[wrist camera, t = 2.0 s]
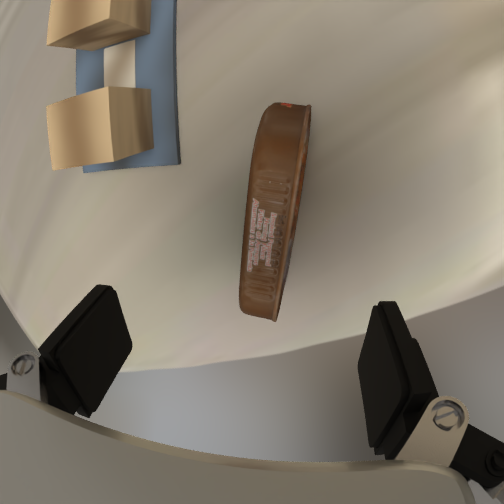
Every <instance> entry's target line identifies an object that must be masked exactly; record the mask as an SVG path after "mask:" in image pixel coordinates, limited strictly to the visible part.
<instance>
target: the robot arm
mask: <svg viewBox="0 0 504 504" xmlns="http://www.w3.org/2000/svg"><path fill="white" fill-rule="evenodd" d="M38 350H39V352H40V354H41V356H40V357H38V356H37V355H36V354H35V353H33V352H23V353H20V354H18V355H17V356H16V357H14V358H13V359H12V361H11V362H10V364H9V367H8V373H6V374H3V375H0V504H504V443H503V442H501V441H499V440H497V439H495V438H493V437H491V436H490V435H488V434H486V433H484V432H483V431H481V430H479V429H477V428H475V427H474V426H472V425H470V424H468V421H469V414H468V410H467V408H466V406H465V405H464V404H463V403H462V402H461V401H459V400H458V399H456V398H453V397H451V396H441V397H439V395H438V392H437V390H436V387H435V384H434V381H433V379H432V376H431V373H430V371H429V368H428V366H427V363H426V361H425V358H424V356H423V353H422V351H421V348H420V346H419V343H418V342H417V340H416V339H415V338H412V337H411V335H410V332H409V330H408V328H407V325H406V323H405V321H404V318H403V316H402V314H401V312H400V309H399V307H398V305H397V303H396V302H395V301H380V302H379V303H378V306H373V309H372V313H371V317H370V321H369V325H368V328H367V332H366V336H365V340H364V343H363V347H362V350H361V354H360V358H359V361H358V373H359V379H360V386H361V391H362V398H363V404H364V411H365V418H366V425H367V433H368V441H369V446H370V447H374V452H375V455H382V454H385V460H377V461H376V460H375V461H351V462H288V461H270V460H258V459H247V458H238V457H231V456H224V455H217V454H210V453H204V452H199V451H194V450H188V449H183V448H179V447H174V446H169V445H165V444H161V443H157V442H153V441H149V440H146V439H142V438H138V437H135V436H132V435H128V434H125V433H122V432H119V431H116V430H112V429H109V428H106V427H103V426H101V425H98V424H95V423H92V422H90V421H87V420H84V419H82V418H79V417H77V416H74V414H75V412H76V411H77V413H78V414H80V415H82V416H85V417H87V418H90V416H91V414H92V412H95V411H96V410H97V408H98V407H99V405H100V403H101V401H102V400H103V398H104V396H105V394H106V393H107V390H108V389H109V387H110V386H111V384H112V382H113V381H114V379H115V377H116V375H117V374H118V372H119V370H120V369H121V367H122V365H123V364H124V362H125V360H126V359H127V357H128V355H129V354H130V352H131V350H132V341H131V338H130V335H129V332H128V329H127V325H126V322H125V319H124V316H123V313H122V309H121V306H120V303H119V299H118V296H117V293H116V291H115V290H113V288H112V286H108V285H96V286H95V287H94V288H93V289H92V290H91V291H90V292H89V293H88V294H87V295H86V296H85V297H84V299H83V300H82V301H81V302H80V303H79V304H78V305H77V306H76V307H75V308H74V309H73V310H72V311H71V312H70V313H69V315H68V316H67V317H66V318H65V319H64V320H63V321H62V322H61V323H60V324H59V326H58V327H57V328H56V329H55V330H54V331H53V332H52V333H51V335H50V336H49V337H48V338H47V339H46V340H45V341H44V343H43V344H42V345H41V346H40V347H39V348H38Z"/></svg>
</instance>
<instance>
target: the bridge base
mask: <svg viewBox="0 0 504 504" xmlns="http://www.w3.org/2000/svg"><path fill="white" fill-rule="evenodd" d="M47 46H56V47H65V48H73V49H76V95H77V96H74V97H71V98H68V99H65V100H62V101H59V102H56V103H54V104H51V105H48V106H46V109H47V125H48V136H49V146H50V154H51V162H52V169H53V170H59V169H65V168H71V167H78V166H83V173H88V172H96V171H105V170H115V169H125V168H136V167H149V166H164V165H178V164H180V163H181V160H180V146H179V130H178V111H177V84H176V0H51V7H50V14H49V23H48V34H47Z"/></svg>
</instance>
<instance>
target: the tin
mask: <svg viewBox="0 0 504 504" xmlns="http://www.w3.org/2000/svg"><path fill="white" fill-rule="evenodd" d="M310 122H311V105H307V106H303V105H295V104H288V103H273V104H272V105H270V106H269V107H268V108H267V109H266V110H265V112H264V113H263V116H262V118H261V121H260V124H259V127H258V130H257V134H256V138H255V143H254V148H253V154H252V160H251V167H250V175H249V185H248V194H247V203H246V214H245V223H244V235H243V246H242V258H241V271H240V285H239V305H240V309H241V311H242V312H243V313H245V314H248V315H252V316H256V317H261V318H266V319H270V320H272V321H274V322H276V321H277V317H278V313H279V309H280V305H281V300H282V295H283V290H284V286H285V282H286V277H287V273H288V268H289V263H290V258H291V250H292V245H293V240H294V235H295V228H296V222H297V216H298V210H299V204H300V198H301V191H302V185H303V179H304V172H305V165H306V158H307V149H308V142H309V133H310Z"/></svg>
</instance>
